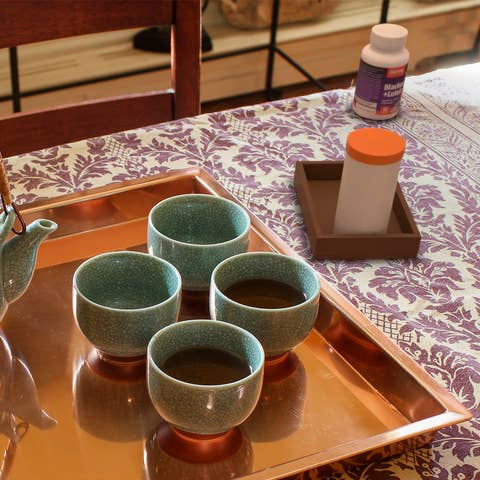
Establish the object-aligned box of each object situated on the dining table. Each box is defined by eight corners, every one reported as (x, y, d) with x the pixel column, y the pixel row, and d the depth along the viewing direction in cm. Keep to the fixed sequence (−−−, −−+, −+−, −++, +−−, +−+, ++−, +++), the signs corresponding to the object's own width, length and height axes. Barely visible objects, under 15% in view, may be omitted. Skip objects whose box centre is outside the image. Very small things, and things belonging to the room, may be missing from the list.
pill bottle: (384, 125, 108) (399, 44, 102) (343, 112, 111) (356, 31, 105) (406, 109, 111) (423, 28, 105) (366, 96, 114) (380, 16, 108)
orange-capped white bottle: (380, 219, 93) (398, 127, 86) (391, 249, 89) (412, 155, 82) (327, 219, 93) (342, 127, 86) (336, 249, 89) (352, 155, 82)
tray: (293, 181, 99) (295, 160, 98) (385, 180, 99) (389, 159, 98) (313, 259, 89) (317, 237, 87) (416, 258, 89) (421, 236, 87)
